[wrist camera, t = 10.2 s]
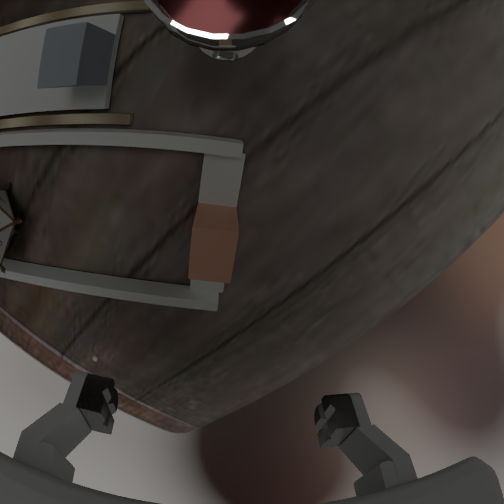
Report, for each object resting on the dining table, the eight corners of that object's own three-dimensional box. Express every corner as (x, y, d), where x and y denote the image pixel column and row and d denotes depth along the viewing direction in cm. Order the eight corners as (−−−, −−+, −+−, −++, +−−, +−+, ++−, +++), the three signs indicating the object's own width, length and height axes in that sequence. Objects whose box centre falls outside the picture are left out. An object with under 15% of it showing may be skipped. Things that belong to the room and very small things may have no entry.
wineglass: (290, 50, 18) (354, 10, 8) (205, 86, 19) (182, 73, 9) (250, -20, 15) (274, -105, 5) (166, 16, 16) (112, -49, 5)
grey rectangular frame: (247, 141, 21) (253, 152, 17) (221, 297, 28) (221, 335, 24) (-29, 135, 17) (-62, 148, 13) (-12, 262, 24) (-35, 287, 19)
